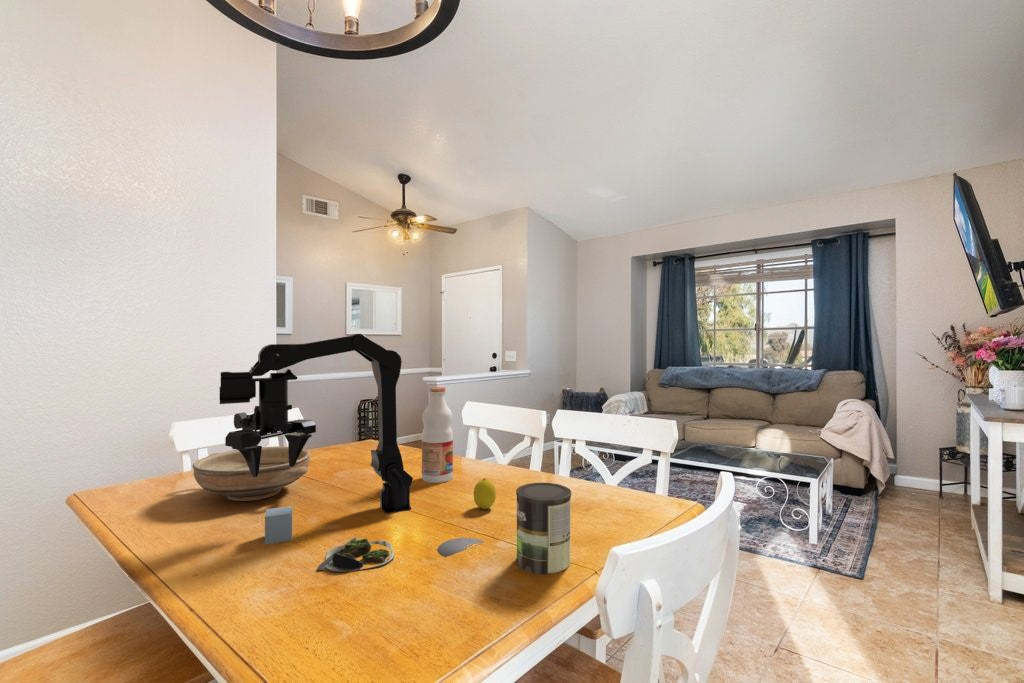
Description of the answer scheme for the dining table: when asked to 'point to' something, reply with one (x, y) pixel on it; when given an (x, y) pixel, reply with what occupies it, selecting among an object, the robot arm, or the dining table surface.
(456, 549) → the gray coaster
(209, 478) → the ceramic bowl
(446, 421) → the fruit juice
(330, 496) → the dining table surface
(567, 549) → the coffee can
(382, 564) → the salad plate
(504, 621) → the dining table surface
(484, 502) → the lemon
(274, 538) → the slate block
